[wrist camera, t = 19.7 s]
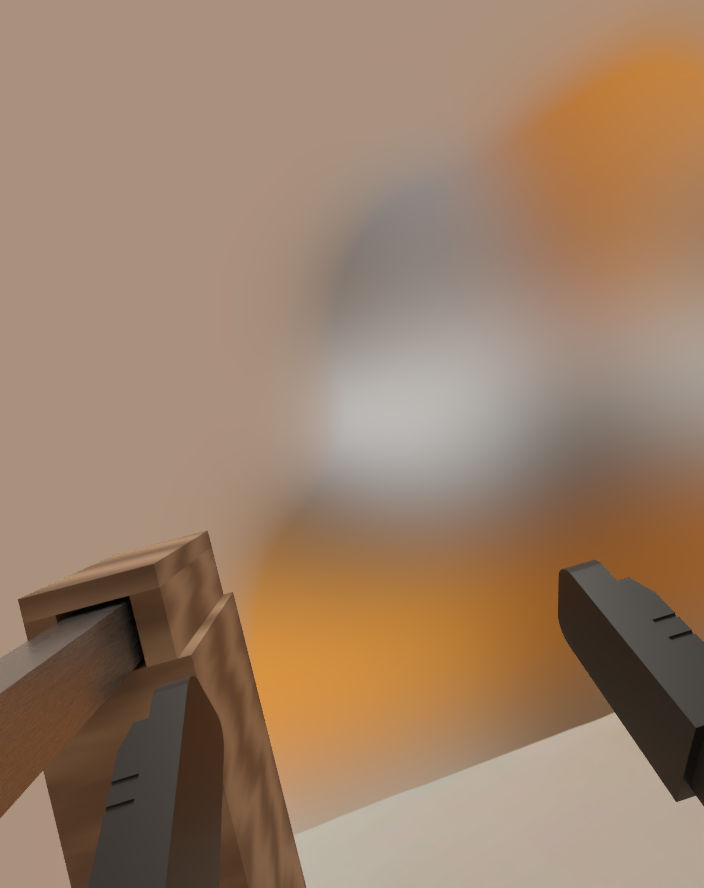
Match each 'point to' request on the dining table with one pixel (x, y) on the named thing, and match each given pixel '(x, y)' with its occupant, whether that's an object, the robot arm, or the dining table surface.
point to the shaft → (60, 687)
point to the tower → (165, 660)
